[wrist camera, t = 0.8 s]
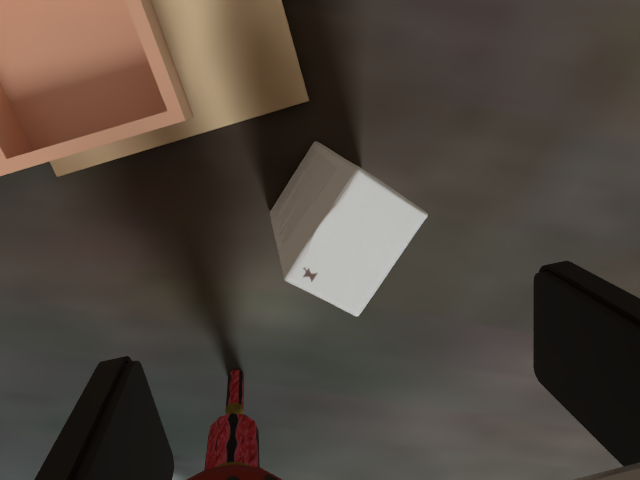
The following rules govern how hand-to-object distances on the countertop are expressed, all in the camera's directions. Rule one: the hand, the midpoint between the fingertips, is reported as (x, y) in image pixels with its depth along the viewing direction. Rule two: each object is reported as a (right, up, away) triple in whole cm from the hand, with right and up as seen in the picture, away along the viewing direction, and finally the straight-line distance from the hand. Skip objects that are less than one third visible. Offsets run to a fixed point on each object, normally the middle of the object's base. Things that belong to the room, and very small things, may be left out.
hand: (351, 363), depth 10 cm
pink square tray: (-14, +13, +15) cm, 25 cm away
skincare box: (-1, +6, +21) cm, 22 cm away
